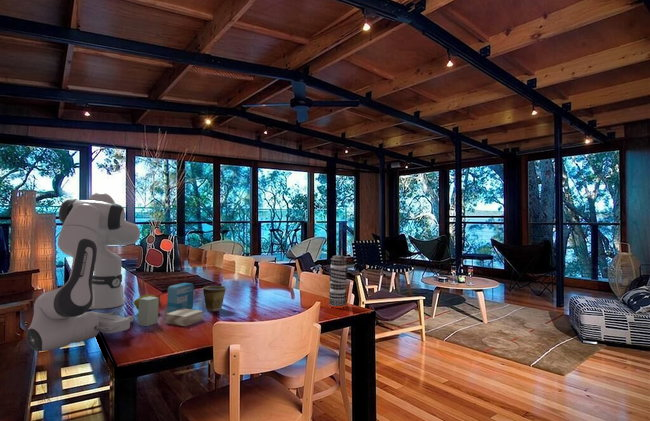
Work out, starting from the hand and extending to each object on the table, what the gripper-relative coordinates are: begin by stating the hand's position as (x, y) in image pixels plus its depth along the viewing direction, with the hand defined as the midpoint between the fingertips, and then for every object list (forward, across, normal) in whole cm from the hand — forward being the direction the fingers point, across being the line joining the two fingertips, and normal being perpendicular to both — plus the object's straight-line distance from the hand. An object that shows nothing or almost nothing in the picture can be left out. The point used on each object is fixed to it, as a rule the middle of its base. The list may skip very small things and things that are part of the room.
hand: (123, 316), depth 135 cm
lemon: (+22, +13, +6) cm, 26 cm away
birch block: (+20, -10, +6) cm, 23 cm away
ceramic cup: (+42, -6, +6) cm, 43 cm away
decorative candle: (+75, -56, +6) cm, 93 cm away
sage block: (+11, 0, +5) cm, 12 cm away
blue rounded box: (+31, +3, +6) cm, 32 cm away
